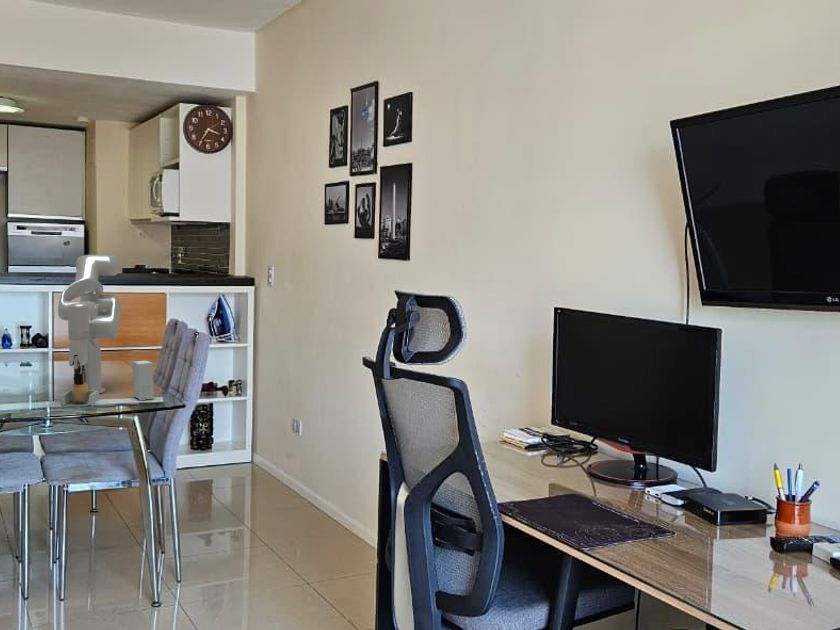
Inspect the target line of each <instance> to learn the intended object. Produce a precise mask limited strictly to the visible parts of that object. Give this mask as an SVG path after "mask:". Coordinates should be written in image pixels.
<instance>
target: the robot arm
mask: <svg viewBox="0 0 840 630" xmlns="http://www.w3.org/2000/svg"><path fill="white" fill-rule="evenodd" d="M120 266H121V264H120V260H119V257H118V256H117V255H115V254H113V255H112V254H85V255H80V256H79V257H78V258H76V261H75V270H76V272H75V273H76V274H75V279H74V281H73V282H72V283H70V284H68V286H66V288H64V289H63V291H62V292H61V294H60V297H59V301H58V307H57V313H58V317H59V318H60V320H62V321H67V324H68V325H67V326H68V327H67V328H68V330H67V331H68V332H67V333H68V334H67V335H68V336H67V337H68V341H69V349H68V351H69V355H68V356H69V357H68V365H69V367H73V384H83V374H82V371H84V383H87V384H88V390H99V394H103V393H105V392H106V391H107V390H106V388H105V387H103V386H102V349H101V346H100V345H99V344H98V342H96V340H95V339H98V340H99V339H114V338H116V337H117V336H118V335H119V331H120V319H121V300H120V298H119V297H118V296H117V294H116V295H115V294H105V293H104V287H103V285H102V283H101V282H100V281H99V276H117V275H118V274H119V273H120V272H119V271H120ZM77 298H79V300H75V299H77Z"/></svg>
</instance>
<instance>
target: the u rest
mask: <svg viewBox="0 0 840 630" xmlns="http://www.w3.org/2000/svg"><path fill="white" fill-rule="evenodd" d="M98 399H99V400H100V393H99V390H88V400H89V401H88V405H91V406H90V407H93V406H94V405H95V404H96V403H97V402H96V401H97V400H98ZM70 401H71V402H74V401H73V399H72V390H66V391H65V392H64V393H63V394H61V395H60V403H61V405H60V406H61V407H65V406H67V405H68V404H69V403H71V402H70ZM95 402H96V403H95ZM67 403H68V404H67ZM94 403H95V404H94ZM66 404H67V405H66ZM93 404H94V405H93Z"/></svg>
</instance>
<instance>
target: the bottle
mask: <svg viewBox="0 0 840 630" xmlns="http://www.w3.org/2000/svg"><path fill="white" fill-rule="evenodd" d="M82 374H83V384H74V383H72V384H71V386H72V387H71V389H72V399H73V401H72V402H86V401H85V400H88V384H87V383H84V371H82Z"/></svg>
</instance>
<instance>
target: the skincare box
mask: <svg viewBox="0 0 840 630" xmlns="http://www.w3.org/2000/svg"><path fill="white" fill-rule="evenodd" d="M153 369H154V368H153V362H152V361H148V360H139V361H138V360H137V361H132V372H133V373H132V374H133V376H132V377H133V379H132V380H133V394H134V395H133V398H134V397H136V398H138V399H139V401H147V400H146V399H153V400H155V391H154V389H155V388H154V370H153ZM136 398H135V399H136ZM138 399H137V400H138Z"/></svg>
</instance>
